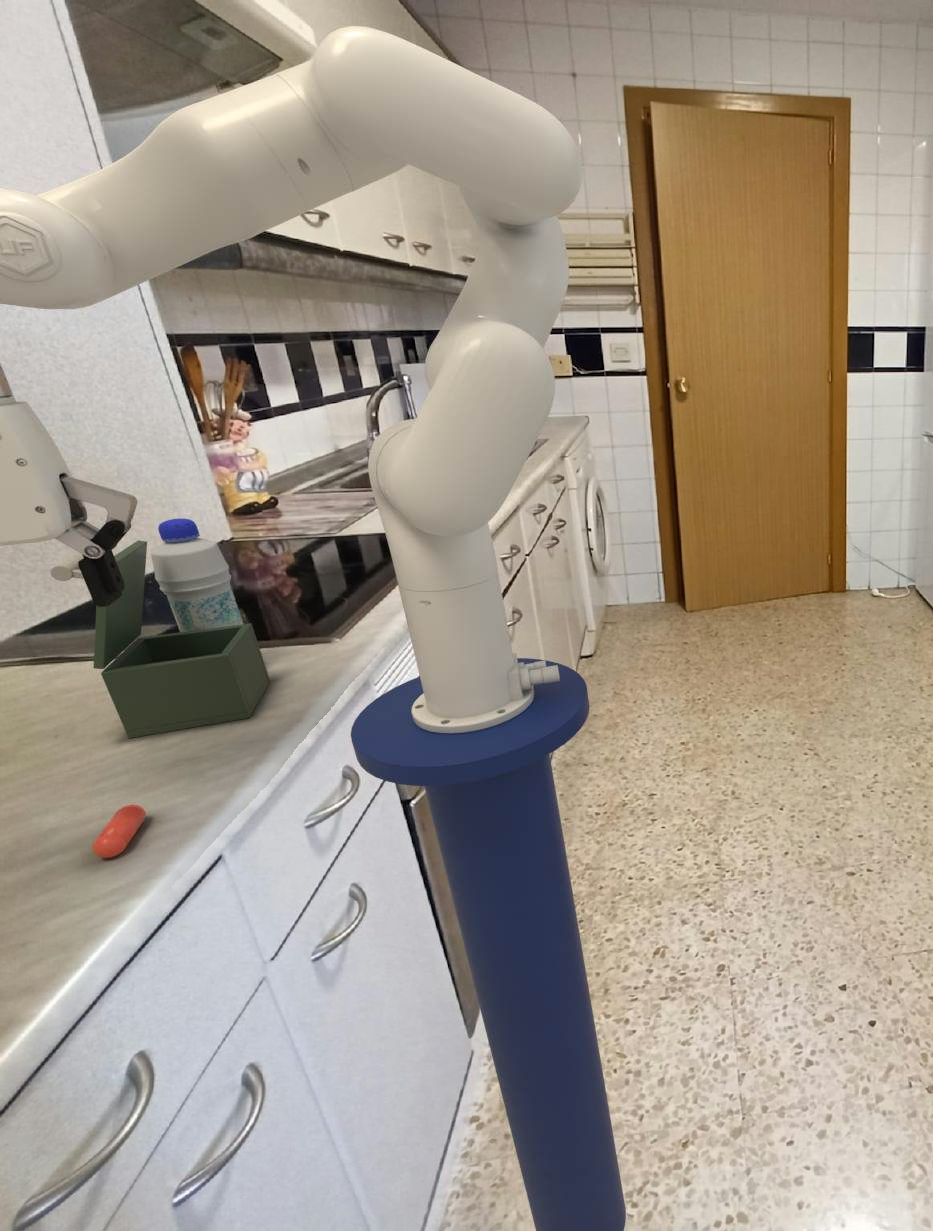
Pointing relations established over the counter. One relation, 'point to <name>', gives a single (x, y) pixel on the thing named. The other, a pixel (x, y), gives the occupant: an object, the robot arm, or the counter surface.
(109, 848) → the red jelly bean
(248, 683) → the bin
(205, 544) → the bottle
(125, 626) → the bin lid
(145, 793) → the counter surface
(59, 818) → the counter surface
